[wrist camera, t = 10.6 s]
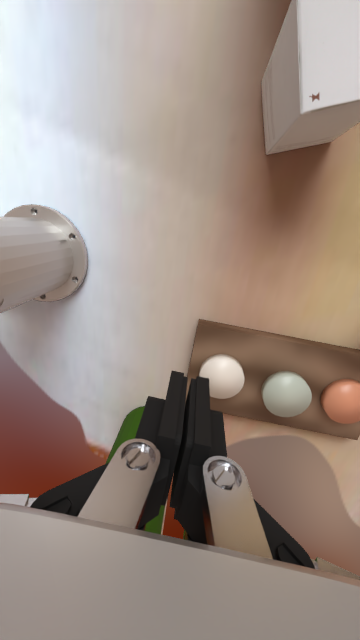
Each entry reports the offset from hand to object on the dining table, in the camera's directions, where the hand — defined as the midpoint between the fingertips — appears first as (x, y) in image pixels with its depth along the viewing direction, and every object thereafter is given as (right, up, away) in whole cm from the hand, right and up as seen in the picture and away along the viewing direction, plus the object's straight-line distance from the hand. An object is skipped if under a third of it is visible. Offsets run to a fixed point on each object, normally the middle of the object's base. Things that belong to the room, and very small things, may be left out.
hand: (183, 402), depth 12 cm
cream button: (+6, -4, +27) cm, 27 cm away
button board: (+14, -5, +28) cm, 32 cm away
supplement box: (+13, +26, +18) cm, 34 cm away
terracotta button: (+22, -7, +26) cm, 35 cm away
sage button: (+14, -6, +25) cm, 29 cm away
